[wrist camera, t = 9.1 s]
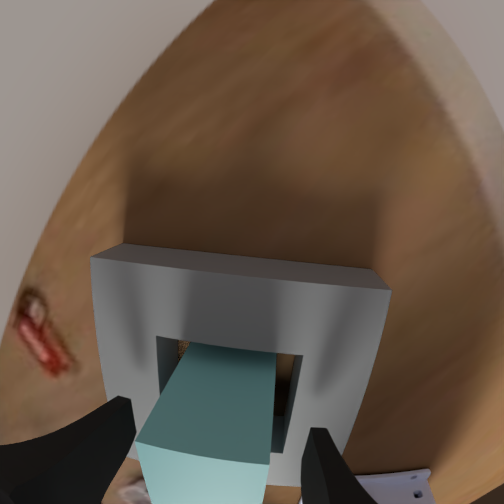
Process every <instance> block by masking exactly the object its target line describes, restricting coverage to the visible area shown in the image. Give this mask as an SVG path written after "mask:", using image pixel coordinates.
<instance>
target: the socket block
mask: <svg viewBox="0 0 504 504" xmlns="http://www.w3.org/2000/svg"><path fill="white" fill-rule="evenodd" d="M90 265H91V283H92V296H93V307H94V317H95V326H96V334H97V342H98V349H99V356H100V362H101V368H102V374H103V380H104V385H105V391H106V396H107V400H108V401H110V400H111V399H113V398H115V397H116V396H118V395H119V396H122V397H126V398H129V399H131V402H132V408H133V414H134V420H135V426H136V431H137V433H136V436H135V439H134V441H133V444H132V446H131V448H130V451H129V453H128V454H127V456H126V457H129V458H132V459H136V460H139V457H138V453H137V449H136V445H135V440H136V438H137V436H138V434H139V433H140V431H141V429H142V427H143V425H144V424H145V422H146V420H147V418H148V416H149V415H150V413H151V411H152V409H153V408H154V406H155V404H156V402H157V400H158V399H159V397H160V395H161V393H162V392H163V390H164V388H165V386H166V385H167V383H168V381H169V379H170V377H171V376H172V374H173V372H174V370H175V369H176V367H177V365H178V340H184V341H190V342H196V343H203V344H209V345H216V346H223V347H231V348H238V349H246V350H255V351H264V352H273V353H283V354H294V355H295V359H294V365H293V370H292V376H291V381H290V387H289V392H288V398H287V403H286V408H285V413H284V416H274V415H273V424H272V438H271V452H270V465H269V471H268V476H267V481H266V484H267V485H280V486H300V487H301V481H300V480H301V459H302V456H303V452H304V449H305V445H306V442H307V439H308V435H309V431H310V428H311V427H318V428H327V429H328V431H329V433H330V435H331V437H332V439H333V441H334V443H335V445H336V447H337V449H338V451H339V452H340V454H341V456H342V454H343V451H344V449H345V446H346V444H347V441H348V439H349V436H350V433H351V431H352V428H353V425H354V423H355V420H356V417H357V414H358V411H359V409H360V406H361V403H362V400H363V397H364V394H365V391H366V388H367V385H368V381H369V378H370V375H371V372H372V368H373V365H374V361H375V358H376V354H377V351H378V347H379V344H380V340H381V336H382V332H383V328H384V324H385V320H386V316H387V312H388V307H389V303H390V298H391V294H392V289H391V288H390V287H389V286H388V285H387V284H386V283H385V282H384V281H383V280H382V279H381V278H380V277H379V276H378V275H377V274H376V273H375V272H374V271H373V270H372V269H365V268H355V267H345V266H335V265H325V264H315V263H305V262H296V261H286V260H276V259H267V258H257V257H247V256H238V255H228V254H219V253H209V252H200V251H190V250H181V249H172V248H162V247H153V246H144V245H134V244H125V243H122V244H119V245H117V246H115V247H112V248H110V249H107V250H105V251H103V252H100V253H98V254H96V255H93V256H91V257H90Z"/></svg>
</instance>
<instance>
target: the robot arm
mask: <svg viewBox="0 0 504 504" xmlns="http://www.w3.org/2000/svg"><path fill="white" fill-rule="evenodd" d="M136 433H137V431H136V426H135V420H134V414H133V408H132V402H131V399H129V398H126V397H122V396H119V395H118V396H116V397H115V398H113V399H111V400H110V401H108V402H107V403H105V404H104V405H102V406H100V407H99V408H97V409H96V410H94V411H92V412H91V413H89V414H87V415H86V416H84V417H82V418H81V419H79V420H77V421H75V422H73V423H71V424H69V425H67V426H66V427H64V428H61V429H59V430H57V431H55V432H52V433H50V434H47V435H44V436H41V437H38V438H35V439H31V440H27V441H24V442H19V443H14V444H8V445H0V504H101V501H102V499H103V497H104V494H105V492H106V490H107V489H108V487H109V485H110V483H111V482H112V480H113V478H114V477H115V475H116V473H117V472H118V470H119V468H120V466H121V465H122V463H123V461H124V460H125V458H126V456H127V454H128V453H129V451H130V448H131V446H132V444H133V441H134V439H135V436H136ZM430 474H431V472H430V469H421V470H414V471H407V472H399V473H389V474H378V475H363V476H354V474H353V473H352V472H351V470H350V469H349V467H348V465H347V464H346V462H345V461H344V459H343V457H342V456H341V454H340V452H339V451H338V449H337V447H336V445H335V443H334V441H333V439H332V437H331V435H330V433H329V431H328V429H327V428H318V427H311V428H310V431H309V435H308V439H307V442H306V445H305V449H304V452H303V456H302V459H301V480H300V481H301V494H302V496H301V499H300V501H299V504H436V503H435V500H434V497H433V494H432V492H431V489H430V486H429V483H428V481H427V479H428V477H429V476H430Z"/></svg>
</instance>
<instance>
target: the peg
mask: <svg viewBox="0 0 504 504" xmlns="http://www.w3.org/2000/svg"><path fill="white" fill-rule="evenodd" d="M276 356H277V353H273V352H264V351H255V350H246V349H238V348H231V347H223V346H216V345H209V344H203V343H196V342H190V344H189V346H188V347H187V349H186V351H185V353H184V355H183V356H182V358H181V360H180V362H179V363H178V365H177V367H176V369H175V370H174V372H173V374H172V376H171V377H170V379H169V381H168V383H167V385H166V386H165V388H164V390H163V392H162V393H161V395H160V397H159V399H158V400H157V402H156V404H155V406H154V408H153V409H152V411H151V413H150V415H149V416H148V418H147V420H146V422H145V424H144V425H143V427H142V429H141V431H140V433H139V434H138V436H137V438H136V440H135V445H136V449H137V453H138V457H139V461H140V465H141V468H142V472H143V475H144V479H145V482H146V486H147V489H148V492H149V496H150V499H151V502H152V504H262V502H263V497H264V492H265V486H266V481H267V476H268V471H269V465H270V452H271V438H272V424H273V408H274V392H275V375H276Z"/></svg>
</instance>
